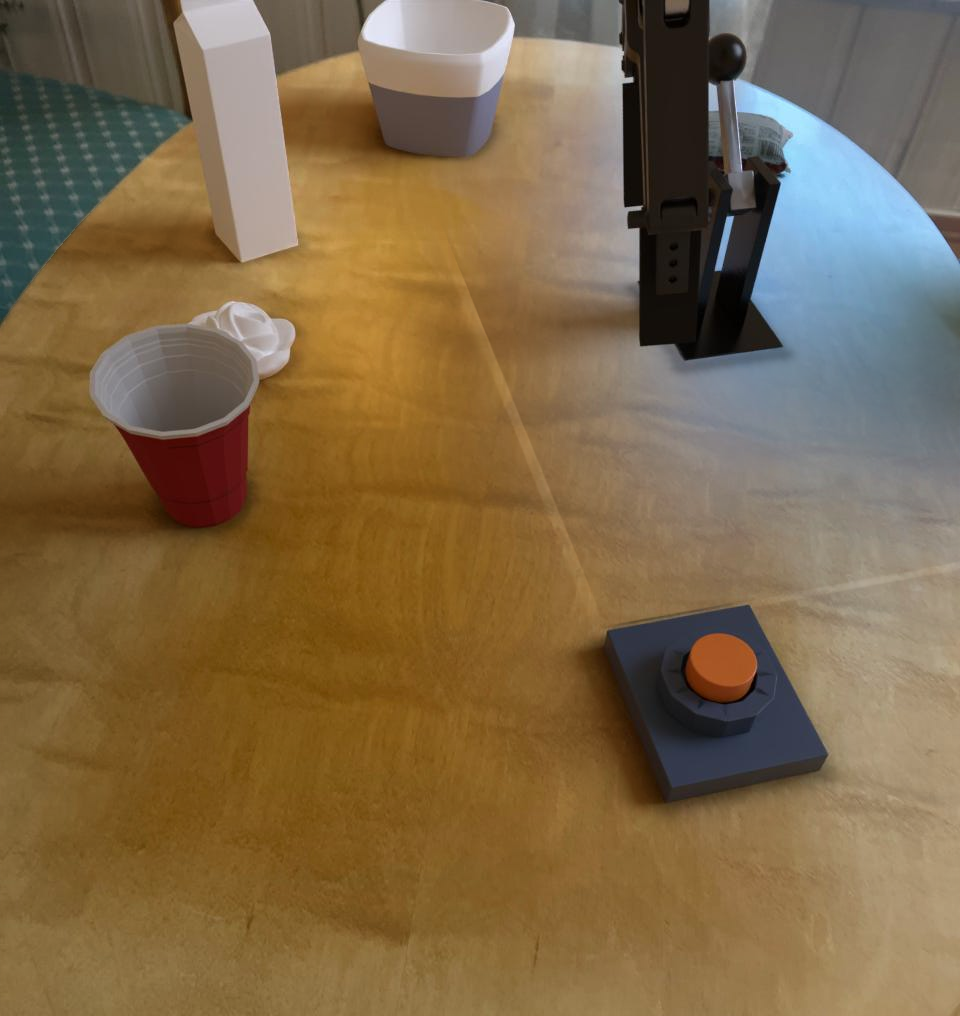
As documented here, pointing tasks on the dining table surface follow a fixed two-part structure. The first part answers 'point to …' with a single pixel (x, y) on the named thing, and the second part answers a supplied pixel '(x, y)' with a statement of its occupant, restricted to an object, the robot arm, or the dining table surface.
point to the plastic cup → (182, 415)
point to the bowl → (436, 72)
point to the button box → (710, 708)
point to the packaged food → (752, 141)
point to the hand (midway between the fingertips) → (656, 266)
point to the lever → (731, 117)
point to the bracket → (733, 271)
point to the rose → (253, 333)
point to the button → (720, 667)
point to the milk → (237, 124)
